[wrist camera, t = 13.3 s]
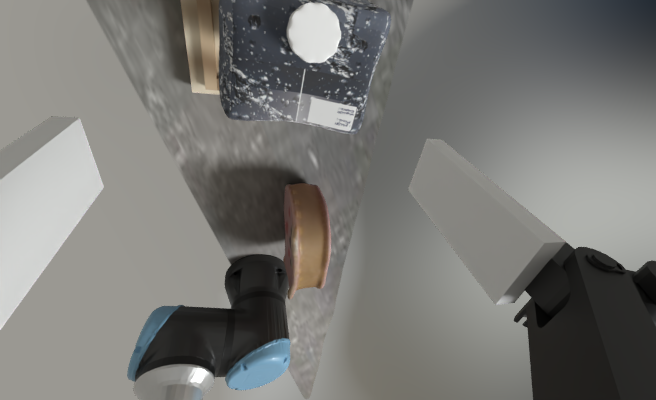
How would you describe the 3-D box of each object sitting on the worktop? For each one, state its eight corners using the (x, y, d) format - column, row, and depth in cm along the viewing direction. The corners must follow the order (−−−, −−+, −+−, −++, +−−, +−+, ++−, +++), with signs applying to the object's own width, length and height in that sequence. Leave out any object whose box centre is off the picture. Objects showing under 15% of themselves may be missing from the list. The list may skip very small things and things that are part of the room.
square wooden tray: (338, 98, 48) (345, 107, 45) (195, 86, 43) (190, 95, 39) (364, -62, 36) (376, -66, 33) (172, -106, 31) (162, -117, 28)
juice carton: (310, 65, 41) (371, 154, 20) (233, 50, 38) (211, 137, 17) (323, -10, 36) (420, 5, 15) (236, -34, 33) (208, -56, 12)
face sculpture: (280, 170, 54) (289, 230, 41) (316, 169, 56) (336, 227, 43) (280, 246, 66) (287, 311, 53) (310, 243, 67) (324, 306, 54)
